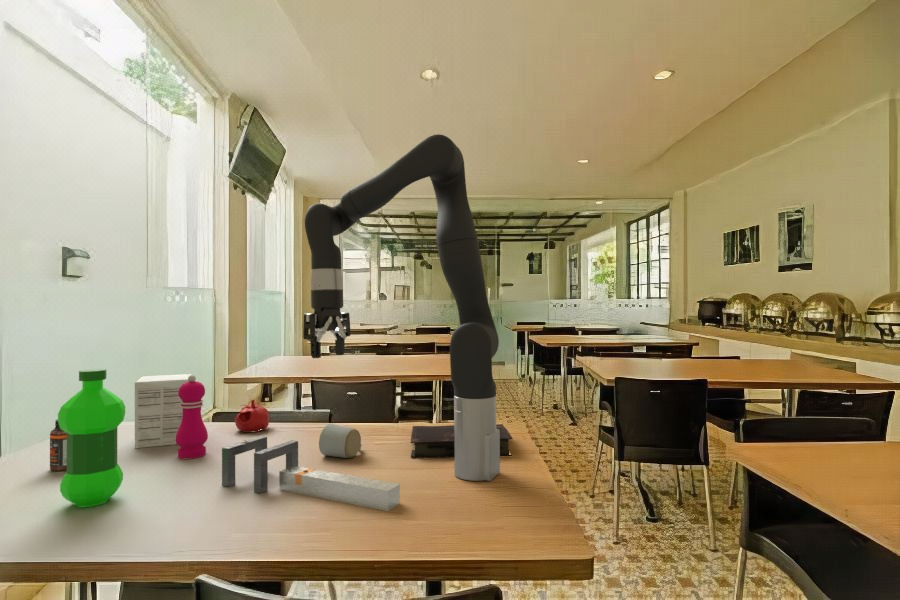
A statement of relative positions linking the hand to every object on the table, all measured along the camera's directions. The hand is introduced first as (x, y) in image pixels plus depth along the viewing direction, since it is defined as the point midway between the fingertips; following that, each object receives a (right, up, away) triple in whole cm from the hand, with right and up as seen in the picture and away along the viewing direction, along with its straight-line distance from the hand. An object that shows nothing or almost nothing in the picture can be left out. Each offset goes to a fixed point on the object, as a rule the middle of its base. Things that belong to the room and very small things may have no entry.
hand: (328, 356), depth 123 cm
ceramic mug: (+2, -25, +5) cm, 26 cm away
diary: (+32, -26, +11) cm, 42 cm away
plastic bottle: (-39, -25, -25) cm, 53 cm away
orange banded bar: (+7, -25, -23) cm, 35 cm away
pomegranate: (-30, -26, +32) cm, 51 cm away
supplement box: (-50, -26, +20) cm, 60 cm away
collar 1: (-15, -25, -12) cm, 31 cm away
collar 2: (-7, -25, -16) cm, 30 cm away
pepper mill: (-35, -26, +5) cm, 44 cm away
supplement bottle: (-60, -26, -4) cm, 65 cm away
